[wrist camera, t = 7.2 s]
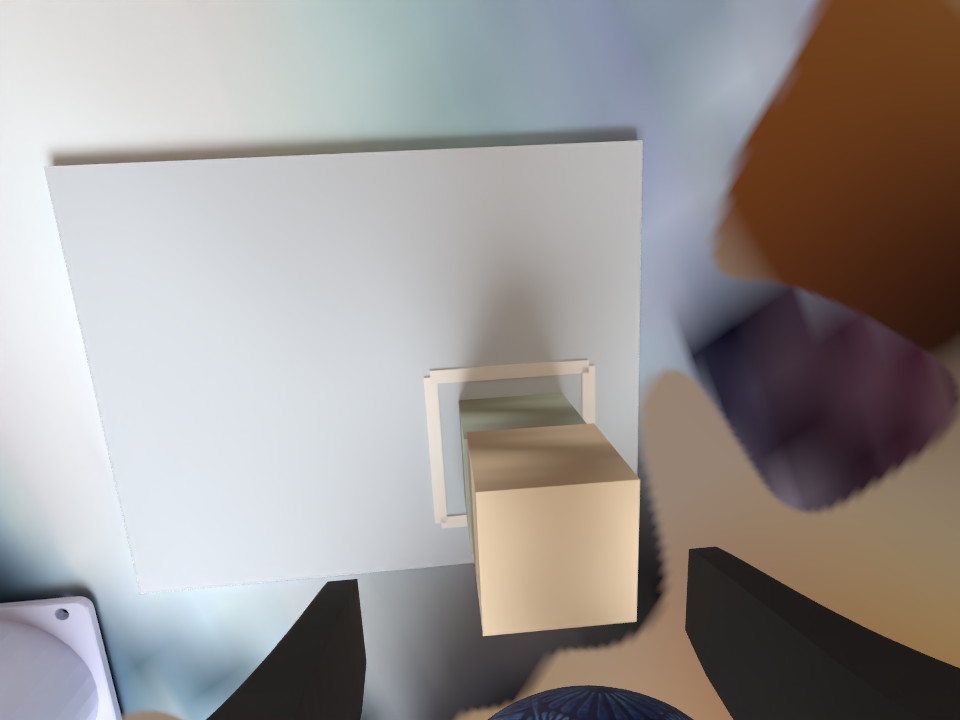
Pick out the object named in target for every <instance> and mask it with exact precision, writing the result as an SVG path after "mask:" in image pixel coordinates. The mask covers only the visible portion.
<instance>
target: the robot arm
mask: <svg viewBox="0 0 960 720" xmlns="http://www.w3.org/2000/svg"><path fill="white" fill-rule="evenodd" d="M62 609H65V610H67V611H68V613H65V612H64V611H63V610H62ZM685 630H686V632H687V635H688V637H689V639H690V641H691V644H692V646H693V648H694V650H695V652H696V655H697V657H698V659H699V661H700V663H701V665H702V667H703V669H704V671H705V673H706V675H707V677H708V679H709V680H710V682H711V684H712V685H713V687H714V689H715V690H716V692H717V694H718V695H719V697H720V699H721V700H722V702H723V703H724V705H725V707H726V708H727V710H728V712H729V713H730V715H731V716H732V718H733V719H734V720H960V668H958V667H955V666H952V665H950V664H947V663H945V662H942V661H940V660H937V659H935V658H932V657H930V656H928V655H925V654H923V653H921V652H918V651H916V650H913V649H911V648H909V647H907V646H905V645H902V644H900V643H898V642H895V641H893V640H891V639H888V638H886V637H884V636H882V635H880V634H878V633H876V632H873V631H871V630H869V629H867V628H865V627H863V626H861V625H859V624H857V623H855V622H853V621H851V620H849V619H847V618H845V617H843V616H841V615H839V614H837V613H835V612H833V611H831V610H830V609H828V608H826V607H824V606H822V605H820V604H818V603H817V602H815V601H813V600H811V599H809V598H807V597H806V596H804V595H802V594H800V593H798V592H797V591H795V590H793V589H791V588H789V587H788V586H786V585H784V584H782V583H781V582H779V581H777V580H775V579H774V578H772V577H770V576H768V575H767V574H765V573H763V572H762V571H760V570H758V569H756V568H755V567H753V566H751V565H749V564H748V563H746V562H744V561H742V560H741V559H739V558H737V557H735V556H733V555H732V554H730V553H728V552H725V551H724V550H722V549H720V548H718V547H707V548H696V549H689V561H688V583H687V604H686V626H685ZM365 672H366V654H365V645H364V636H363V627H362V618H361V609H360V600H359V591H358V582H357V579H352V580H341V581H330V582H327V583H326V584H325V585H324V587H323V588H322V589H321V590H320V592H319V593H318V594H317V595H316V597H315V598H314V599H313V601H312V602H311V603H310V605H309V606H308V607H307V608H306V610H305V611H304V612H303V614H302V615H301V616H300V617H299V619H298V620H297V621H296V622H295V624H294V625H293V626H292V627H291V629H290V630H289V631H288V632H287V634H286V635H285V636H284V637H283V638H282V640H281V641H280V642H279V643H278V644H277V646H276V647H275V648H274V649H273V650H272V652H271V653H270V654H269V655H268V656H267V657H266V659H265V660H264V661H263V662H262V663H261V664H260V665H259V666H258V667H257V668H256V669H255V671H254V672H253V673H252V674H251V675H250V676H249V677H248V678H247V679H246V680H245V681H244V683H243V684H242V685H241V686H240V687H239V688H238V689H237V690H236V691H235V692H234V693H233V694H232V695H231V696H230V697H229V698H228V699H227V700H226V701H225V702H224V703H223V704H222V705H221V706H220V707H219V708H218V709H217V710H216V711H215V712H214V713H213V714H212V715H211V716H210V717H208V718H207V719H206V720H360V718H361V713H362V703H363V694H364V683H365ZM0 720H122V717H121V713H120V709H119V705H118V701H117V697H116V693H115V689H114V685H113V681H112V677H111V673H110V669H109V665H108V661H107V657H106V653H105V649H104V645H103V641H102V637H101V633H100V628H99V624H98V620H97V616H96V612H95V608H94V605H93V603H92V602H91V601H90V600H89V599H88V598H85V597H82V596H75V597H64V598H53V599H43V600H32V601H21V602H10V603H0Z"/></svg>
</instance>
